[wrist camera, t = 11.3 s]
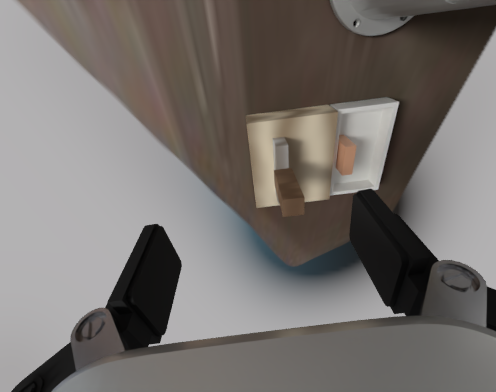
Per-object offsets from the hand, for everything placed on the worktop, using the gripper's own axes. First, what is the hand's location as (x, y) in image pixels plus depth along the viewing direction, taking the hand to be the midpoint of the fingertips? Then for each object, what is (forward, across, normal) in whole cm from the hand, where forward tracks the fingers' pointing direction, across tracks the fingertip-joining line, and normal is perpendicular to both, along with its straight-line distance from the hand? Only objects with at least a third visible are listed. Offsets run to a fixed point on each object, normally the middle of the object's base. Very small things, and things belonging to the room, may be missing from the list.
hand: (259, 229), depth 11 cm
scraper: (+22, -3, +9) cm, 24 cm away
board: (+26, -5, +9) cm, 28 cm away
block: (+23, -12, +9) cm, 28 cm away
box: (+26, -16, +10) cm, 32 cm away
